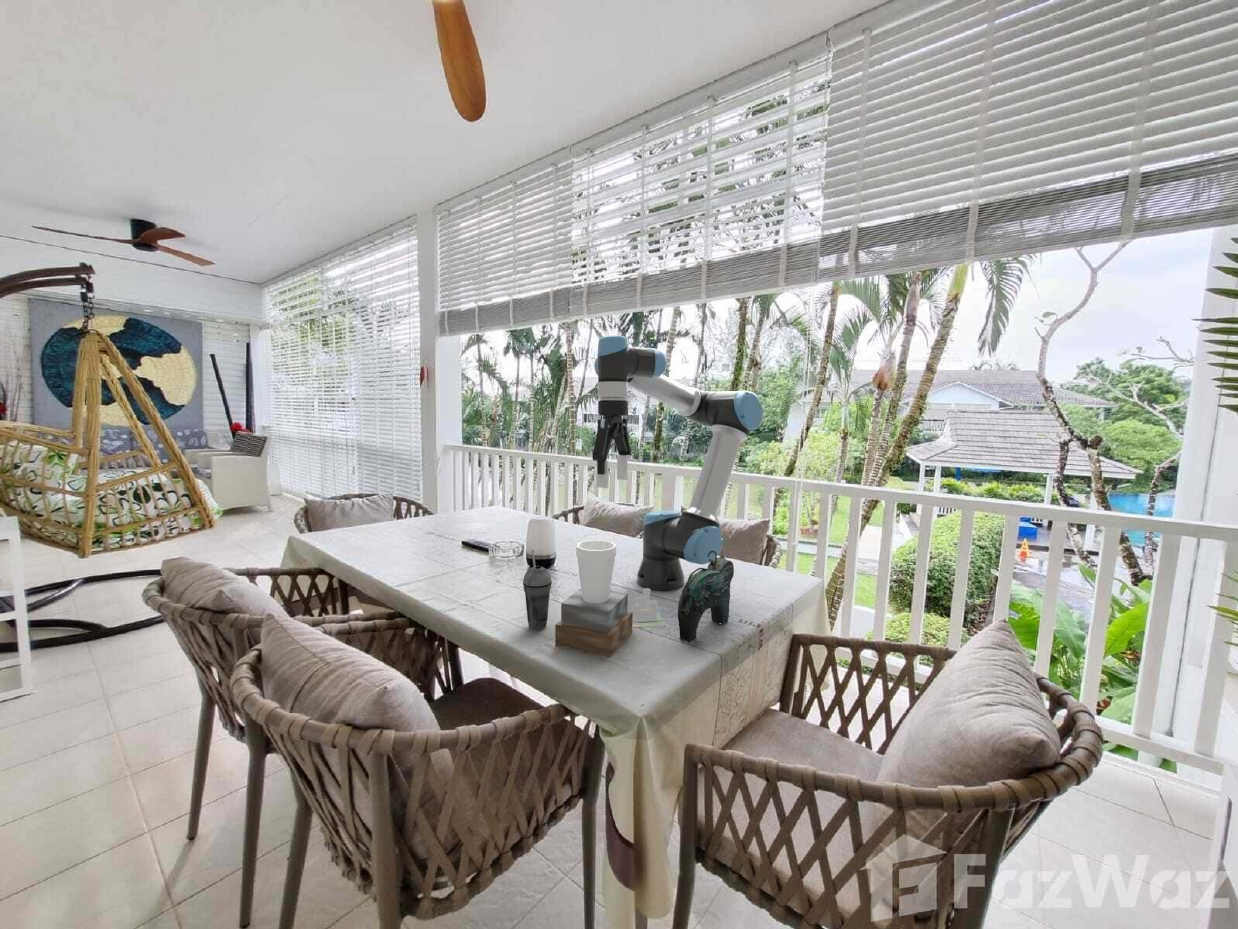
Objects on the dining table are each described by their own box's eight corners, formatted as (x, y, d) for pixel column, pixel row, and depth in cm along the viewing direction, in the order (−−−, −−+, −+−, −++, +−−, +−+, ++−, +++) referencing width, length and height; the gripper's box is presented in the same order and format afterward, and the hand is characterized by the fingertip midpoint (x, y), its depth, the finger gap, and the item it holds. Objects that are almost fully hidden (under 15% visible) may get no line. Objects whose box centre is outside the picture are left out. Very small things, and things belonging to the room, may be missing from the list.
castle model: (652, 604, 143) (653, 579, 142) (664, 627, 128) (665, 599, 127) (600, 606, 140) (600, 581, 140) (606, 630, 126) (607, 601, 125)
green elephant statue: (717, 614, 135) (720, 542, 133) (738, 621, 131) (741, 547, 128) (672, 638, 121) (674, 558, 119) (694, 647, 116) (696, 564, 114)
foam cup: (568, 600, 117) (568, 547, 116) (588, 588, 125) (589, 538, 124) (603, 609, 113) (604, 553, 111) (622, 595, 121) (623, 543, 119)
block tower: (581, 621, 129) (581, 584, 128) (632, 631, 124) (632, 592, 123) (555, 645, 116) (555, 604, 115) (610, 657, 111) (611, 614, 110)
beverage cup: (554, 630, 124) (554, 552, 122) (525, 634, 121) (524, 554, 119) (548, 619, 131) (548, 544, 128) (520, 622, 128) (520, 546, 126)
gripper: (617, 400, 137) (616, 476, 140) (577, 399, 114) (578, 490, 117) (642, 400, 135) (642, 477, 137) (608, 399, 112) (608, 492, 114)
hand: (612, 483), depth 127 cm, fingers open, 13 cm apart
